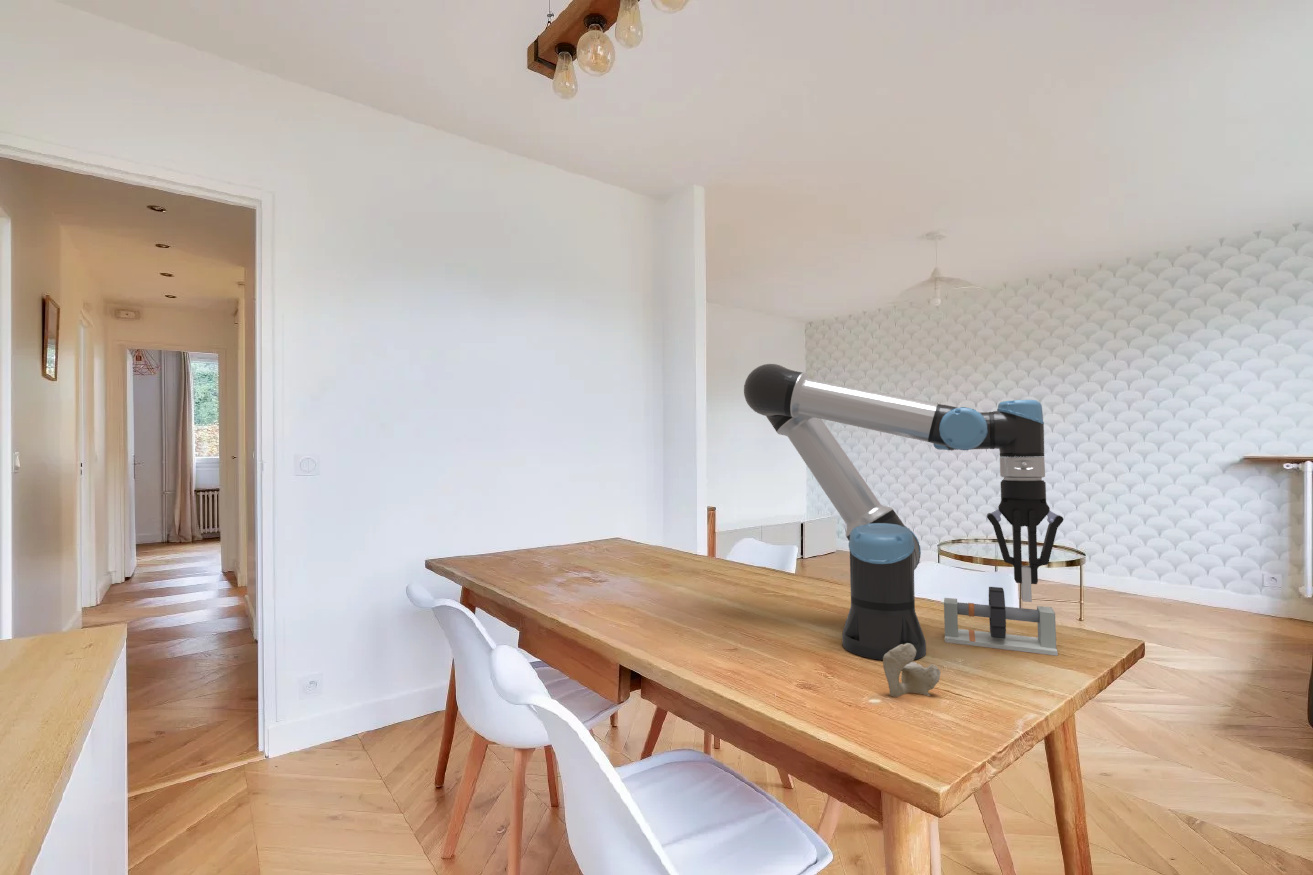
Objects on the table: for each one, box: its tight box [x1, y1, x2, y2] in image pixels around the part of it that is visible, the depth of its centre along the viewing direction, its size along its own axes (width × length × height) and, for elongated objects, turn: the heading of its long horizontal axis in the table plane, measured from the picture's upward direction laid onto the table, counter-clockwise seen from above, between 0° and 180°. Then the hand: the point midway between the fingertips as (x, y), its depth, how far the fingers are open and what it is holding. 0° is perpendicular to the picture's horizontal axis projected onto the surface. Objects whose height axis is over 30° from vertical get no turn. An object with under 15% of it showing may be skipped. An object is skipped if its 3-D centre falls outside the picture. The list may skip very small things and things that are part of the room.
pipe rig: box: [943, 597, 1059, 656], centre depth 117 cm, size 19×8×7 cm, turn 63°
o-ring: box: [988, 586, 1007, 639], centre depth 117 cm, size 2×9×9 cm, turn 153°
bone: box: [882, 643, 941, 698], centre depth 93 cm, size 9×6×10 cm
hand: (1026, 600), depth 115 cm, fingers closed
